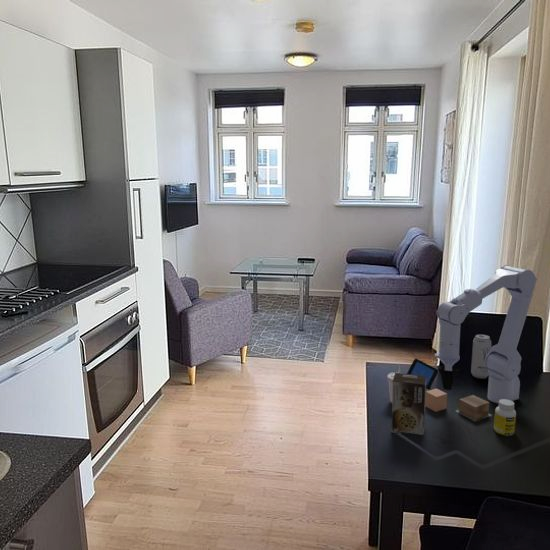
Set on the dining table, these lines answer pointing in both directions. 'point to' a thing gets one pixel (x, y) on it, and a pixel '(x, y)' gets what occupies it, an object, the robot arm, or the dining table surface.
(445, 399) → the terracotta block
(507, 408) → the supplement bottle
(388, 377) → the smoothie
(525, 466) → the dining table surface
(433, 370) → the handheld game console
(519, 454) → the dining table surface
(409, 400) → the printed cardboard box
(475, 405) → the walnut block
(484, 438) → the dining table surface
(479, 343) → the energy drink can
